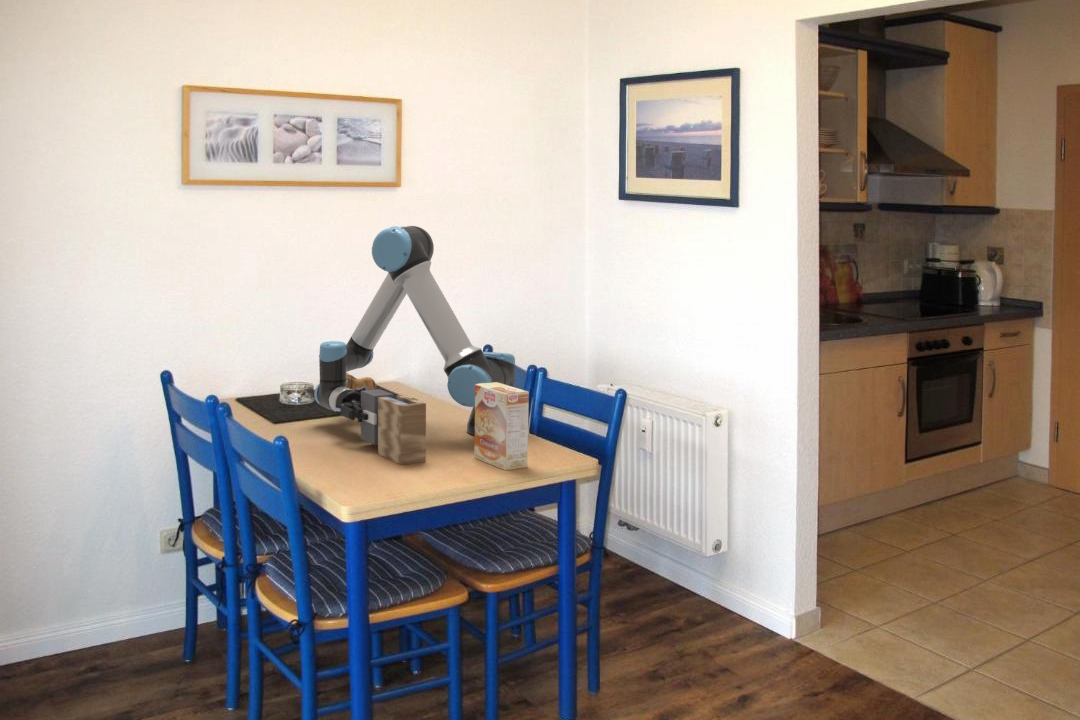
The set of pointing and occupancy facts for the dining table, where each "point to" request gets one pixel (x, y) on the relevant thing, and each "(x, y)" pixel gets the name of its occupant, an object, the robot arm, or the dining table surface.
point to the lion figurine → (359, 383)
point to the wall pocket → (402, 430)
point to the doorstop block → (371, 404)
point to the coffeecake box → (501, 425)
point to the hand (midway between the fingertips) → (386, 418)
